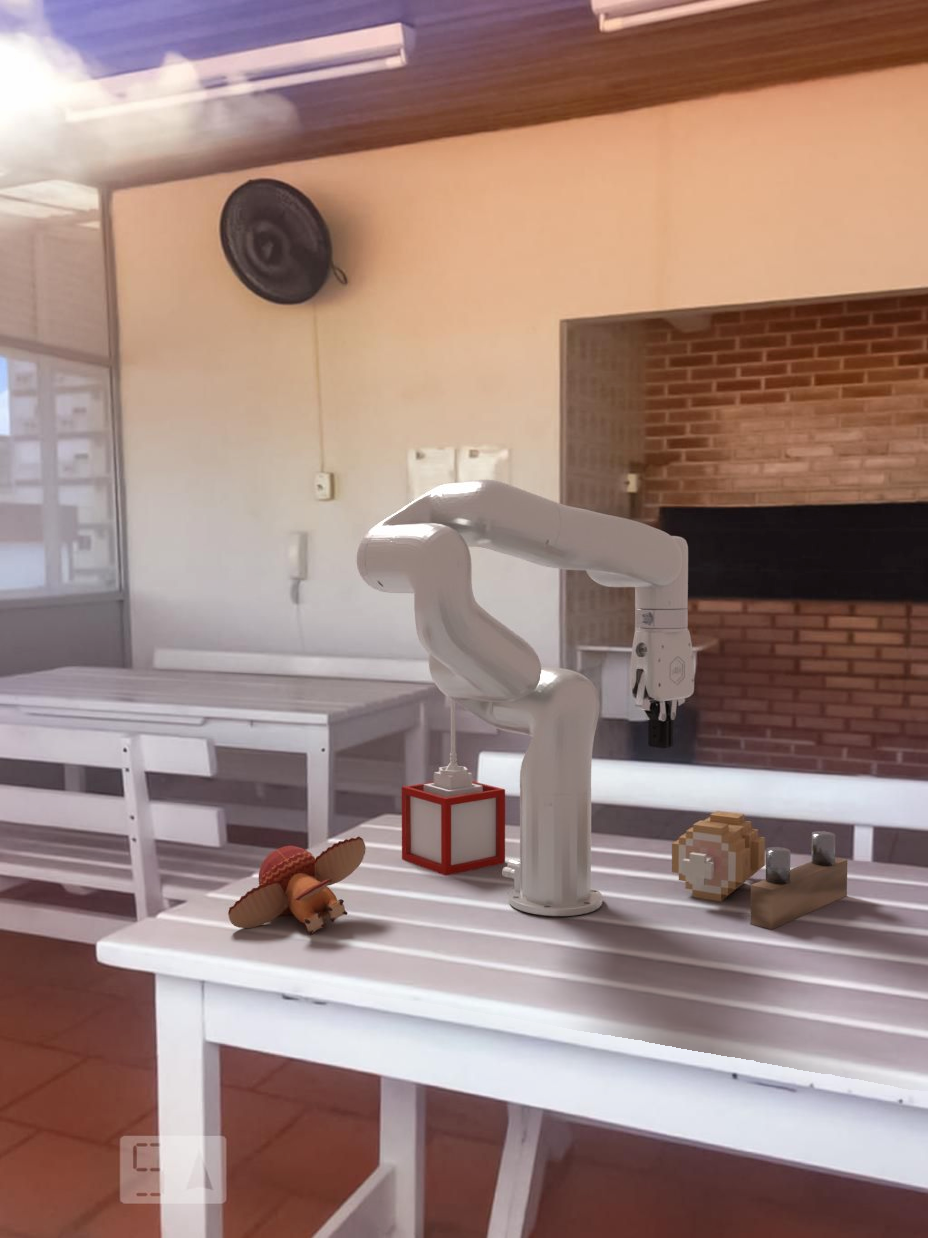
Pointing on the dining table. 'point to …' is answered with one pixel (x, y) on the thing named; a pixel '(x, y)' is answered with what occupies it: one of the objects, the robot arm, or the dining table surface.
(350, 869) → the figurine
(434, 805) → the pendant light
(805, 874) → the rail
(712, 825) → the voxel meat on bone
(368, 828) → the dining table surface
